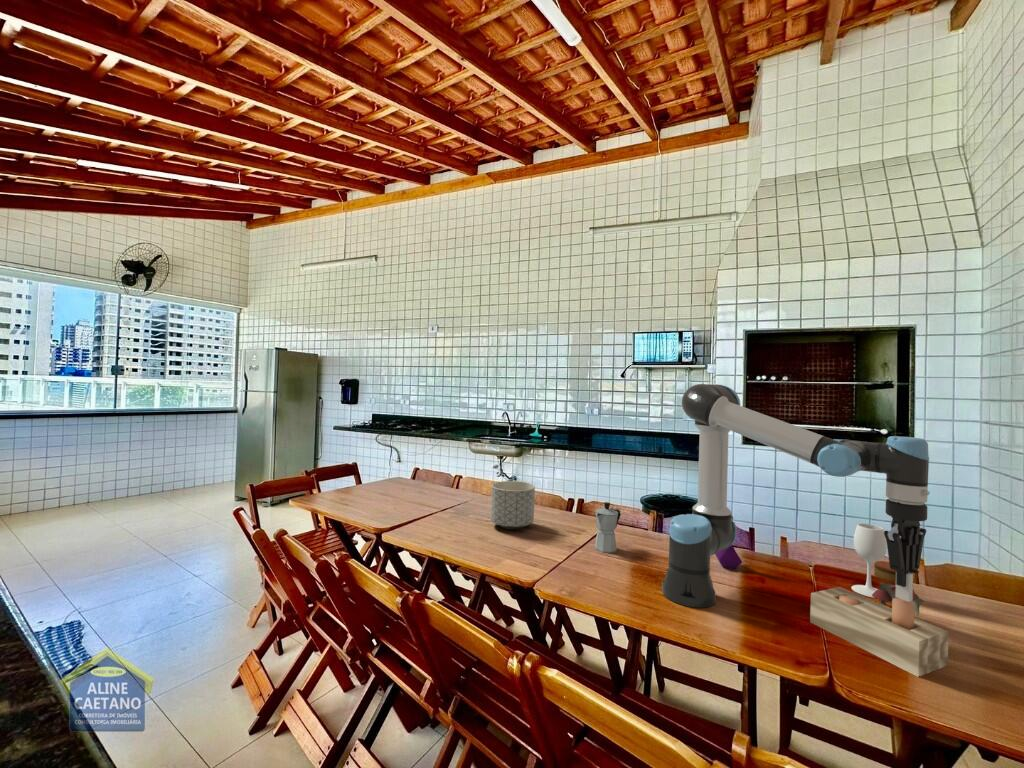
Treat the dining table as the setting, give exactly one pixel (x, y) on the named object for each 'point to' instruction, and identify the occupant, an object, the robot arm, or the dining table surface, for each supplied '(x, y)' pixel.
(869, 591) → the wineglass
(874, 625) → the socket block
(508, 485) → the planter
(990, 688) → the dining table surface
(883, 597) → the toy burger
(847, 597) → the rear peg
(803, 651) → the dining table surface
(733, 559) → the perfume bottle
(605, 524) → the coffee maker
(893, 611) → the front peg
